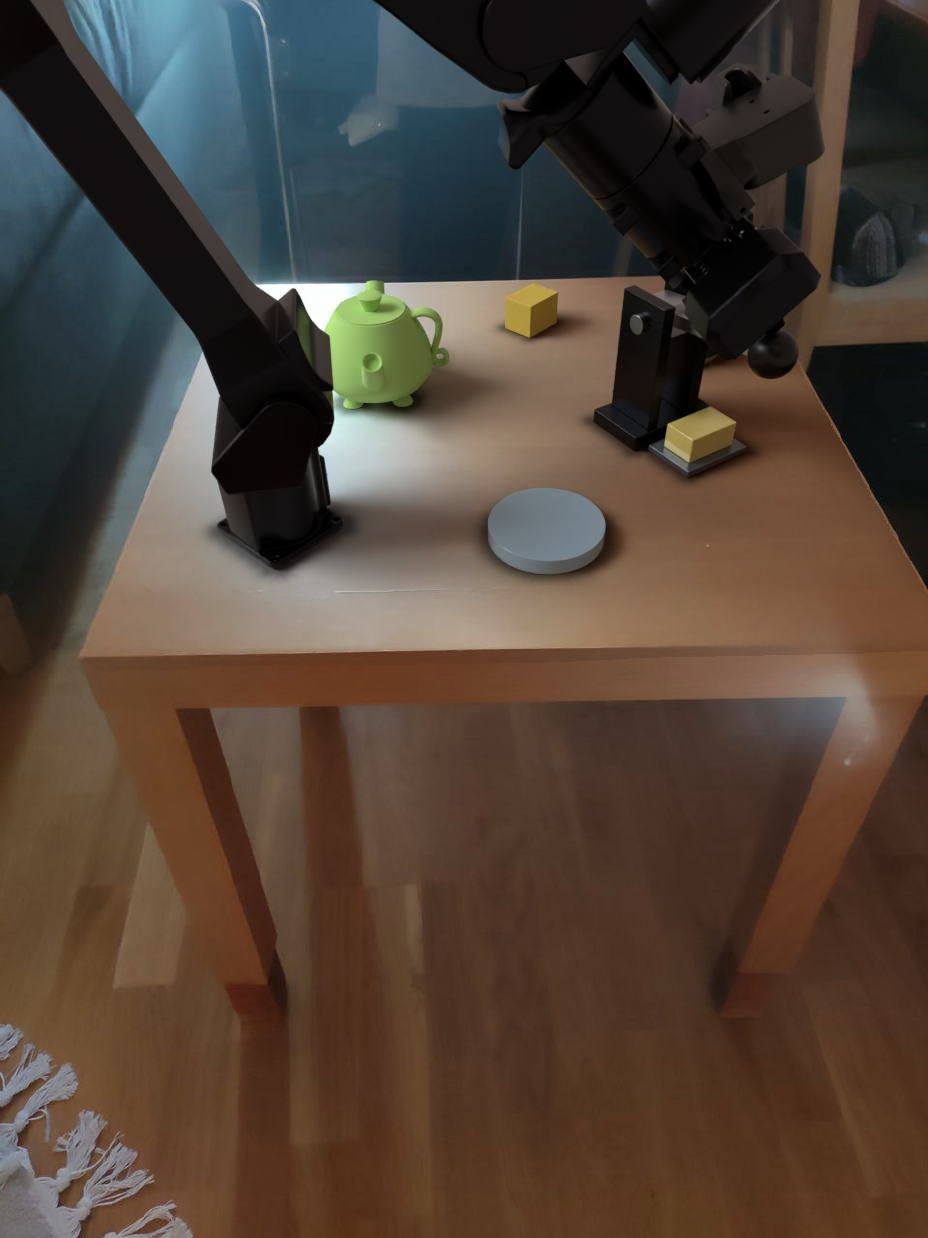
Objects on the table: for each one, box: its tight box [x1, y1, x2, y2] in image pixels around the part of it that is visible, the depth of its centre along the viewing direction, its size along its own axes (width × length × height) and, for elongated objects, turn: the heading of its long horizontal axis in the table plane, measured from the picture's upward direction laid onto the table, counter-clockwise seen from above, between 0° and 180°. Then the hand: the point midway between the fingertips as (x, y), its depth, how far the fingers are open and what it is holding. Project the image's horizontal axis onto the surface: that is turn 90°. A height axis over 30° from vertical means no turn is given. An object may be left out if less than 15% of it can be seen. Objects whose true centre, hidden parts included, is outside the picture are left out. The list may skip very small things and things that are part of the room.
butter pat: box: [504, 282, 559, 339], centre depth 82 cm, size 4×3×3 cm
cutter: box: [592, 281, 713, 451], centre depth 68 cm, size 5×8×11 cm, turn 123°
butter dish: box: [648, 406, 748, 478], centre depth 67 cm, size 4×6×2 cm
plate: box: [487, 487, 607, 575], centre depth 61 cm, size 8×8×1 cm
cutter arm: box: [652, 289, 800, 380], centre depth 62 cm, size 13×3×3 cm, turn 33°
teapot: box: [323, 279, 451, 410], centre depth 72 cm, size 11×12×8 cm
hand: (776, 327), depth 57 cm, fingers closed
